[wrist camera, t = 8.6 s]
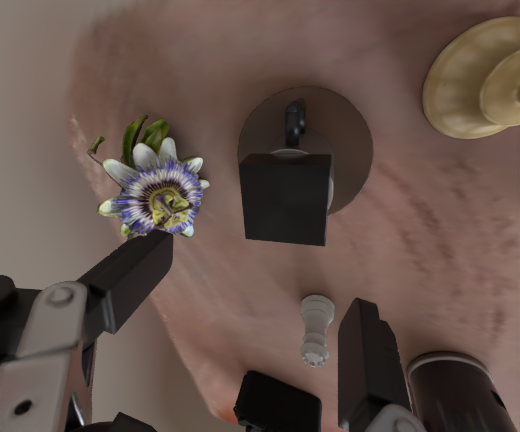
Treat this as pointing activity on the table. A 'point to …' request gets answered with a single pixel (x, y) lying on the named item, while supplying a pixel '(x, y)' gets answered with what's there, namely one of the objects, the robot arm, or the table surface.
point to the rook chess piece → (316, 328)
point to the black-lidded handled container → (289, 185)
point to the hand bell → (476, 81)
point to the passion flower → (152, 183)
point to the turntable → (325, 123)
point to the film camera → (276, 406)
